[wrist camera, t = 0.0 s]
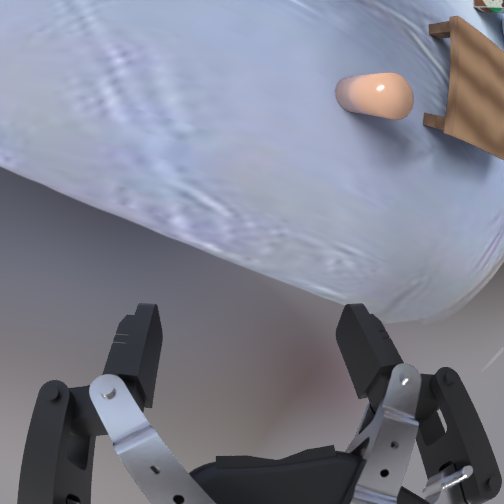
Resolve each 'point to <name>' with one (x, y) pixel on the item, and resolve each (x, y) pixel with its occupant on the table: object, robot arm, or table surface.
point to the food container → (489, 5)
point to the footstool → (472, 88)
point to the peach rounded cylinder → (376, 95)
